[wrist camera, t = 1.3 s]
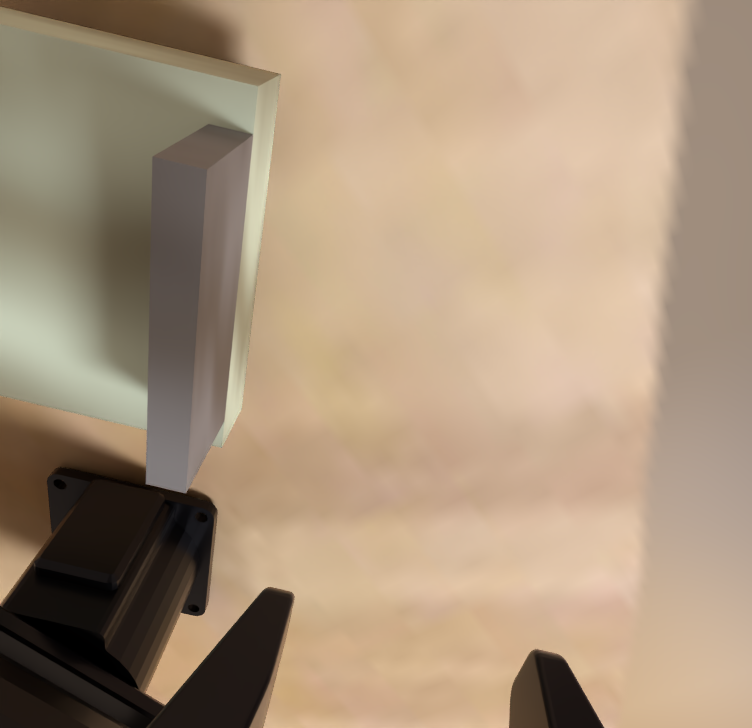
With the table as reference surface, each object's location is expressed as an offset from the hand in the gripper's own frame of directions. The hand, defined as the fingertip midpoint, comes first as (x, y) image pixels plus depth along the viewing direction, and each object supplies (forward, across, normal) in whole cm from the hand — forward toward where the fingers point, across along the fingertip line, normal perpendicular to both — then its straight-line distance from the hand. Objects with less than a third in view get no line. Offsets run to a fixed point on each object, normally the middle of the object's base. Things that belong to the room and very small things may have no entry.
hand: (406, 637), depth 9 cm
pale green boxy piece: (+12, +9, 0) cm, 15 cm away
